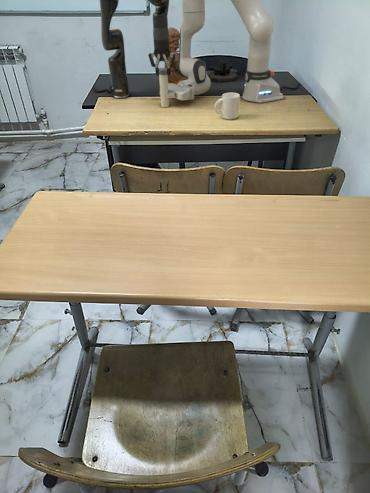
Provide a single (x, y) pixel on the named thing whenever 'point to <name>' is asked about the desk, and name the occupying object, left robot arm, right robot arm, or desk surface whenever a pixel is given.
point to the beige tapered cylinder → (164, 90)
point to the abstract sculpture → (222, 72)
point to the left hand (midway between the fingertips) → (163, 75)
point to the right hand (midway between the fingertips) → (163, 94)
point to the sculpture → (173, 45)
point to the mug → (229, 105)
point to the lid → (162, 71)
